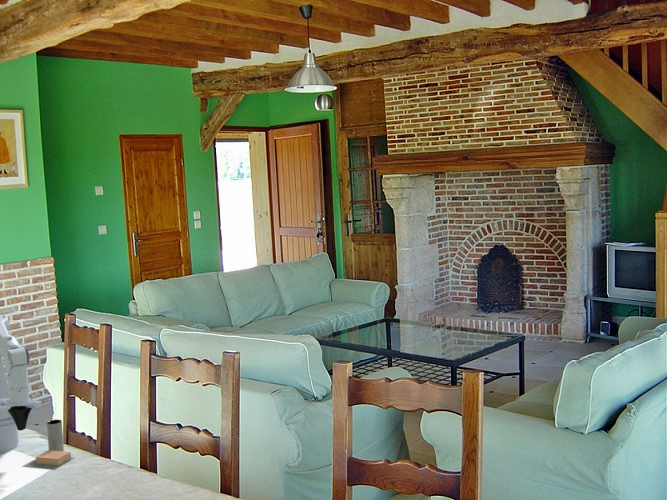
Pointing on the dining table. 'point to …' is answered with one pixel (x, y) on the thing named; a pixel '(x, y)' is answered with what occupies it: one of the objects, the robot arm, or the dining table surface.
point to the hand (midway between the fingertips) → (21, 429)
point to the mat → (35, 465)
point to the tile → (53, 458)
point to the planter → (55, 435)
